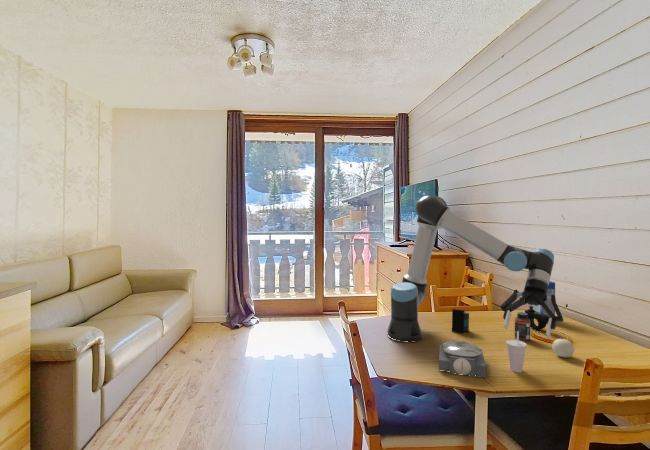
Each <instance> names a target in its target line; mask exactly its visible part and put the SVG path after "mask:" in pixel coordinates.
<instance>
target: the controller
mask: <svg viewBox="0 0 650 450" xmlns="http://www.w3.org/2000/svg"><path fill="white" fill-rule="evenodd" d="M533 308H534V307H532V306H530V305H529V306H528V309H524V313H527V314H528V318H529V319H530V329H533V330H535V329H540V330H543V329H545V328H547V326H548V321H549V318H550V316H548V315H545V314H542V313H540V312H536V311H535V310H533ZM535 320H536V321H537V325H536V323H535Z"/></svg>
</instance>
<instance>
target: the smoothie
mask: <svg viewBox="0 0 650 450" xmlns="http://www.w3.org/2000/svg"><path fill="white" fill-rule="evenodd" d="M505 342H506V343H505V345H506V347H507V353H508V354H507V355H508V362H509V363H508V364H509V369H510V371H512V372H514V373H522V372H523V368H524V362H525V355H526V349H527V347H528V344H527V343H525V341H522V340H519V331H517V339H507V340H506V341H505Z"/></svg>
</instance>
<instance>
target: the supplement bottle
mask: <svg viewBox="0 0 650 450" xmlns="http://www.w3.org/2000/svg"><path fill="white" fill-rule="evenodd" d="M516 314H517V315H516V317H515V318H514V339H515V340H517V331H519V341H522V342H529V341H530V340H531V327H530V319H529V318H528V314H527V313H525V311H524V312H523V311H522V312H521V311H518V312H517V313H516Z"/></svg>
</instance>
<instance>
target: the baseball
mask: <svg viewBox="0 0 650 450" xmlns="http://www.w3.org/2000/svg"><path fill="white" fill-rule="evenodd" d="M551 345H552V351H553V352H554V353H555V355H557V356H558V357H561V358H567V359H568V358H571V357H572V356H573V355H574V353H575V346H574V344H573V343H572V342H571V341H570V340H568V339H565V338H557V339H555V340H554V341H553V342H552V344H551Z"/></svg>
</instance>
